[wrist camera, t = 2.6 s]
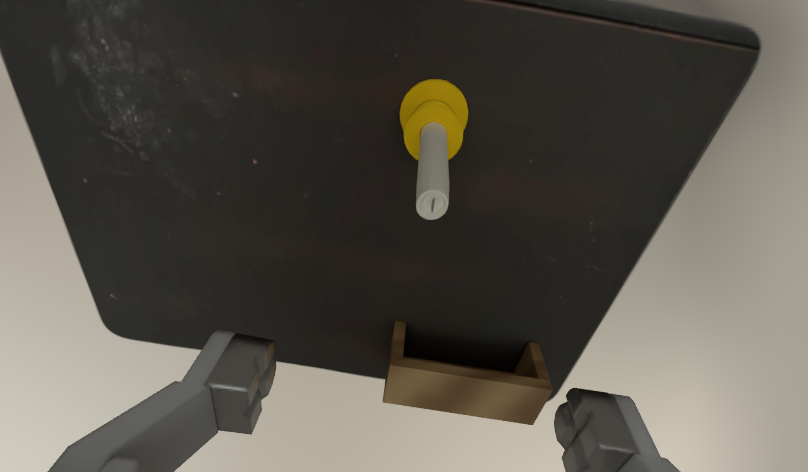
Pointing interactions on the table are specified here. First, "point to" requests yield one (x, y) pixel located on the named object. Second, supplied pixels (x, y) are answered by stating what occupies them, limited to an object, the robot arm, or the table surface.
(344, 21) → the table surface
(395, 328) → the shelf
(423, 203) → the candle
